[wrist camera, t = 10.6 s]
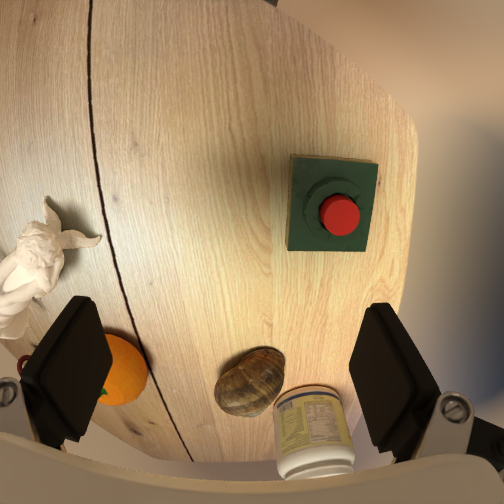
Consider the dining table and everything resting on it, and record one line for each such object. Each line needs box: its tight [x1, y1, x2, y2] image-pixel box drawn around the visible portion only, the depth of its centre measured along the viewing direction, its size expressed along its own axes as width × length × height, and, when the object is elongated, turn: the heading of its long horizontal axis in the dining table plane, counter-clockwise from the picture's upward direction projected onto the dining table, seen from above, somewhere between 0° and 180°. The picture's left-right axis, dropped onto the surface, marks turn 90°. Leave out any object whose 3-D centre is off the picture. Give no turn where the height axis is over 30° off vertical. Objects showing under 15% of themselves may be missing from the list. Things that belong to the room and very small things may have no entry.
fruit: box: [98, 334, 147, 406], centre depth 37 cm, size 12×12×10 cm
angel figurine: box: [0, 197, 100, 339], centre depth 28 cm, size 14×20×12 cm
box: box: [285, 154, 378, 252], centre depth 30 cm, size 10×9×4 cm
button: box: [320, 195, 360, 236], centre depth 28 cm, size 4×4×2 cm
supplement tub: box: [273, 386, 355, 480], centre depth 40 cm, size 12×12×17 cm
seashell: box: [214, 349, 285, 417], centre depth 39 cm, size 11×9×8 cm
